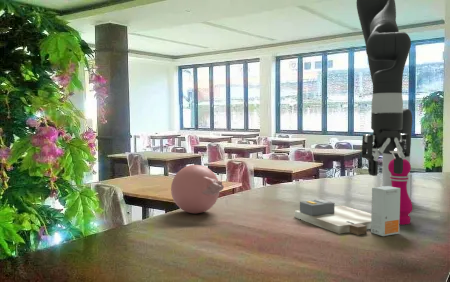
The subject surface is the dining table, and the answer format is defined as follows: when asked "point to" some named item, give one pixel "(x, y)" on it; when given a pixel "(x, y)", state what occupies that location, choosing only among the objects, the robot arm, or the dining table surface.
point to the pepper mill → (402, 190)
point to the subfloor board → (340, 220)
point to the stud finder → (317, 207)
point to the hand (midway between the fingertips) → (385, 174)
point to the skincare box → (385, 210)
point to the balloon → (195, 189)
